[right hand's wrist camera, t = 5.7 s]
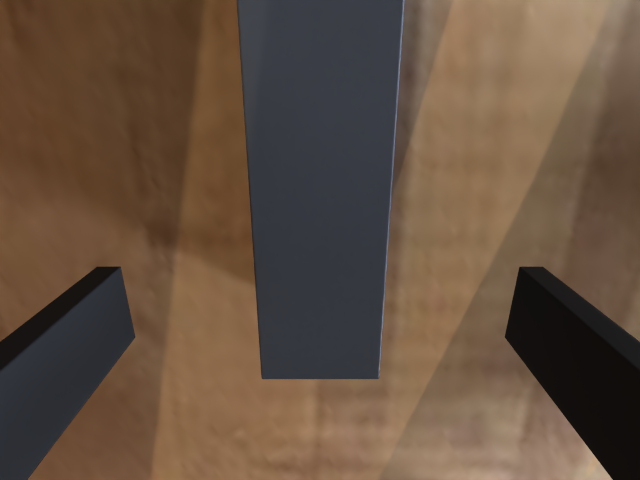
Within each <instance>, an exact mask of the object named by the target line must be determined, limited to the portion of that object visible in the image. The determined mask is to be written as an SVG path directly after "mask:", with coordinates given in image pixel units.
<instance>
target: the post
mask: <svg viewBox="0 0 640 480" xmlns="http://www.w3.org/2000/svg"><path fill="white" fill-rule="evenodd" d="M237 12H238V27H239V42H240V57H241V72H242V88H243V103H244V118H245V133H246V148H247V163H248V178H249V194H250V209H251V224H252V239H253V254H254V269H255V285H256V300H257V315H258V330H259V345H260V360H261V376H262V379H379V373H380V359H381V344H382V329H383V314H384V299H385V284H386V269H387V254H388V239H389V224H390V209H391V194H392V179H393V164H394V149H395V134H396V119H397V104H398V90H399V75H400V60H401V45H402V30H403V15H404V0H237Z"/></svg>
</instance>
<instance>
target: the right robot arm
mask: <svg viewBox="0 0 640 480" xmlns="http://www.w3.org/2000/svg"><path fill="white" fill-rule="evenodd" d="M134 338H135V334H134V329H133V324H132V319H131V315H130V310H129V305H128V300H127V296H126V291H125V286H124V281H123V276H122V272H121V267H96V268H95V269H94V270H92V271H91V272H90V273H88V274H87V275H86V276H85V277H83V278H82V279H81V280H79V281H78V282H77V283H76V284H74V285H73V286H72V287H70V288H69V289H68V290H67V291H65V292H64V293H63V294H61V295H60V296H59V297H58V298H56V299H55V300H54V301H52V302H51V303H50V304H49V305H47V306H46V307H45V308H43V309H42V310H41V311H40V312H38V313H37V314H36V315H34V316H33V317H32V318H31V319H29V320H28V321H27V322H25V323H24V324H23V325H22V326H20V327H19V328H18V329H16V330H15V331H14V332H13V333H11V334H10V335H9V336H7V337H6V338H5V339H4V340H2V341H1V342H0V480H27V479H28V478H29V477H30V475H31V474H32V473H33V471H34V470H35V469H36V467H37V466H38V465H39V463H40V462H41V461H42V459H43V458H44V457H45V455H46V454H47V453H48V451H49V450H50V449H51V448H52V446H53V445H54V444H55V442H56V441H57V440H58V438H59V437H60V436H61V434H62V433H63V432H64V430H65V429H66V428H67V426H68V425H69V424H70V422H71V421H72V420H73V419H74V417H75V416H76V415H77V413H78V412H79V411H80V409H81V408H82V407H83V405H84V404H85V403H86V401H87V400H88V399H89V397H90V396H91V395H92V393H93V392H94V391H95V390H96V388H97V387H98V386H99V384H100V383H101V382H102V380H103V379H104V378H105V376H106V375H107V374H108V372H109V371H110V370H111V368H112V367H113V366H114V364H115V363H116V362H117V361H118V359H119V358H120V357H121V355H122V354H123V353H124V351H125V350H126V349H127V347H128V346H129V345H130V343H131V342H132V341H133V339H134ZM505 338H506V339H507V341H508V342H509V343H510V345H511V346H512V347H513V349H514V350H515V351H516V353H517V354H518V355H519V357H520V358H521V359H522V361H523V362H524V363H525V364H526V366H527V367H528V368H529V370H530V371H531V372H532V374H533V375H534V376H535V378H536V379H537V380H538V382H539V383H540V384H541V386H542V387H543V388H544V390H545V391H546V392H547V393H548V395H549V396H550V397H551V399H552V400H553V401H554V403H555V404H556V405H557V407H558V408H559V409H560V411H561V412H562V413H563V415H564V416H565V417H566V419H567V420H568V421H569V422H570V424H571V425H572V426H573V428H574V429H575V430H576V432H577V433H578V434H579V436H580V437H581V438H582V440H583V441H584V442H585V444H586V445H587V446H588V448H589V449H590V450H591V451H592V453H593V454H594V455H595V457H596V458H597V459H598V461H599V462H600V463H601V465H602V466H603V467H604V469H605V470H606V471H607V473H608V474H609V475H610V477H611V478H612V479H613V480H640V342H639V341H638V340H636V339H635V338H634V337H633V336H631V335H630V334H629V333H627V332H626V331H625V330H624V329H622V328H621V327H620V326H618V325H617V324H616V323H615V322H613V321H612V320H611V319H609V318H608V317H607V316H606V315H604V314H603V313H602V312H600V311H599V310H598V309H597V308H595V307H594V306H593V305H591V304H590V303H589V302H588V301H586V300H585V299H584V298H582V297H581V296H580V295H579V294H577V293H576V292H575V291H573V290H572V289H571V288H570V287H568V286H567V285H566V284H564V283H563V282H562V281H561V280H559V279H558V278H557V277H555V276H554V275H553V274H552V273H550V272H549V271H548V270H546V269H545V268H544V267H519V272H518V276H517V281H516V286H515V291H514V296H513V300H512V305H511V310H510V315H509V319H508V324H507V329H506V334H505Z"/></svg>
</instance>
